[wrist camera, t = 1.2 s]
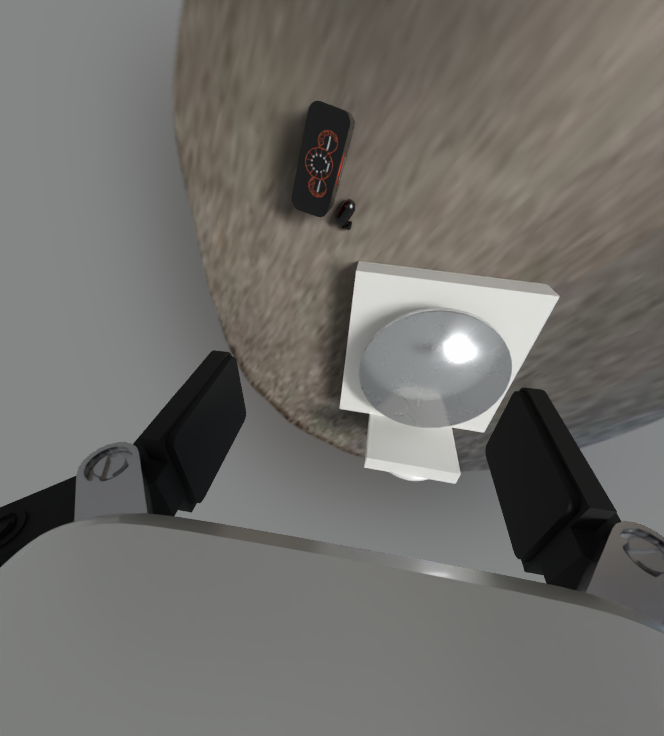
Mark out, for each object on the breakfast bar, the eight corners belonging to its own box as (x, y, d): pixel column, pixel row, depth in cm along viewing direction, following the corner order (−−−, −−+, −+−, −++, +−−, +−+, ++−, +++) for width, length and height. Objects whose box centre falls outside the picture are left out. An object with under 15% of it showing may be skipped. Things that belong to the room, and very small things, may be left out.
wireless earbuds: (298, 209, 26) (287, 217, 23) (320, 102, 22) (310, 97, 19) (350, 228, 26) (346, 238, 24) (383, 125, 22) (381, 124, 19)
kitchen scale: (358, 260, 28) (346, 303, 21) (547, 284, 26) (602, 338, 19) (340, 407, 39) (329, 467, 32) (472, 428, 37) (490, 496, 30)
